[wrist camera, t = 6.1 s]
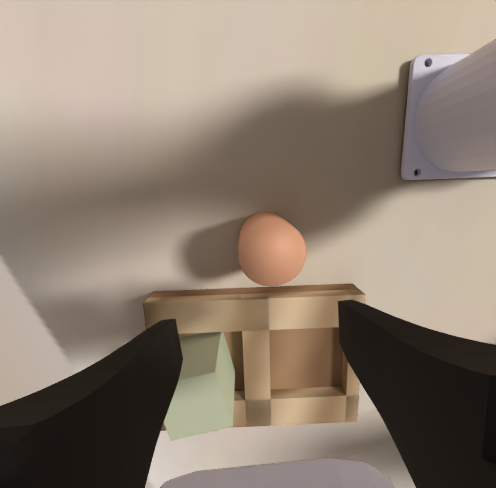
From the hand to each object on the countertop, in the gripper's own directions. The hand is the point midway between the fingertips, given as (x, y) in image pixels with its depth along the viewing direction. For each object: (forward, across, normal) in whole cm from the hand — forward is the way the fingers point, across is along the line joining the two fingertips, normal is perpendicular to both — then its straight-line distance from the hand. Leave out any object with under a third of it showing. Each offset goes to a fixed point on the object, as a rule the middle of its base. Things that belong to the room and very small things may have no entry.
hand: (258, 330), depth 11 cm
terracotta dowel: (+9, -1, -2) cm, 10 cm away
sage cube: (+8, +5, +6) cm, 11 cm away
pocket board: (+9, 0, +7) cm, 12 cm away
